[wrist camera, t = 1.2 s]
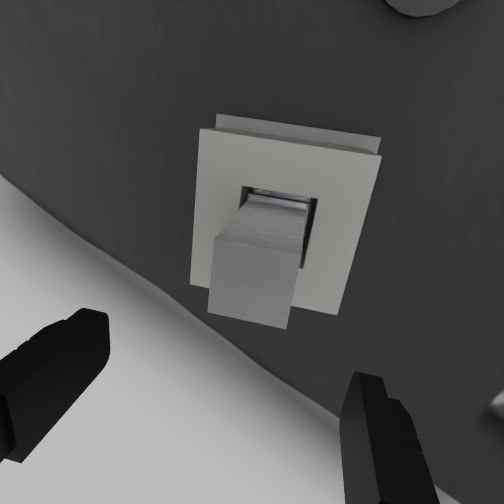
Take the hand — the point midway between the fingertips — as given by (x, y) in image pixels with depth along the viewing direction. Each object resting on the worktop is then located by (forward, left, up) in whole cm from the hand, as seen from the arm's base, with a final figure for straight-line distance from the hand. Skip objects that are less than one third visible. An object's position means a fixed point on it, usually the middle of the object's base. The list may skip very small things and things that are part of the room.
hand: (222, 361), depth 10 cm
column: (0, 0, -21) cm, 21 cm away
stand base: (0, 0, -22) cm, 22 cm away
